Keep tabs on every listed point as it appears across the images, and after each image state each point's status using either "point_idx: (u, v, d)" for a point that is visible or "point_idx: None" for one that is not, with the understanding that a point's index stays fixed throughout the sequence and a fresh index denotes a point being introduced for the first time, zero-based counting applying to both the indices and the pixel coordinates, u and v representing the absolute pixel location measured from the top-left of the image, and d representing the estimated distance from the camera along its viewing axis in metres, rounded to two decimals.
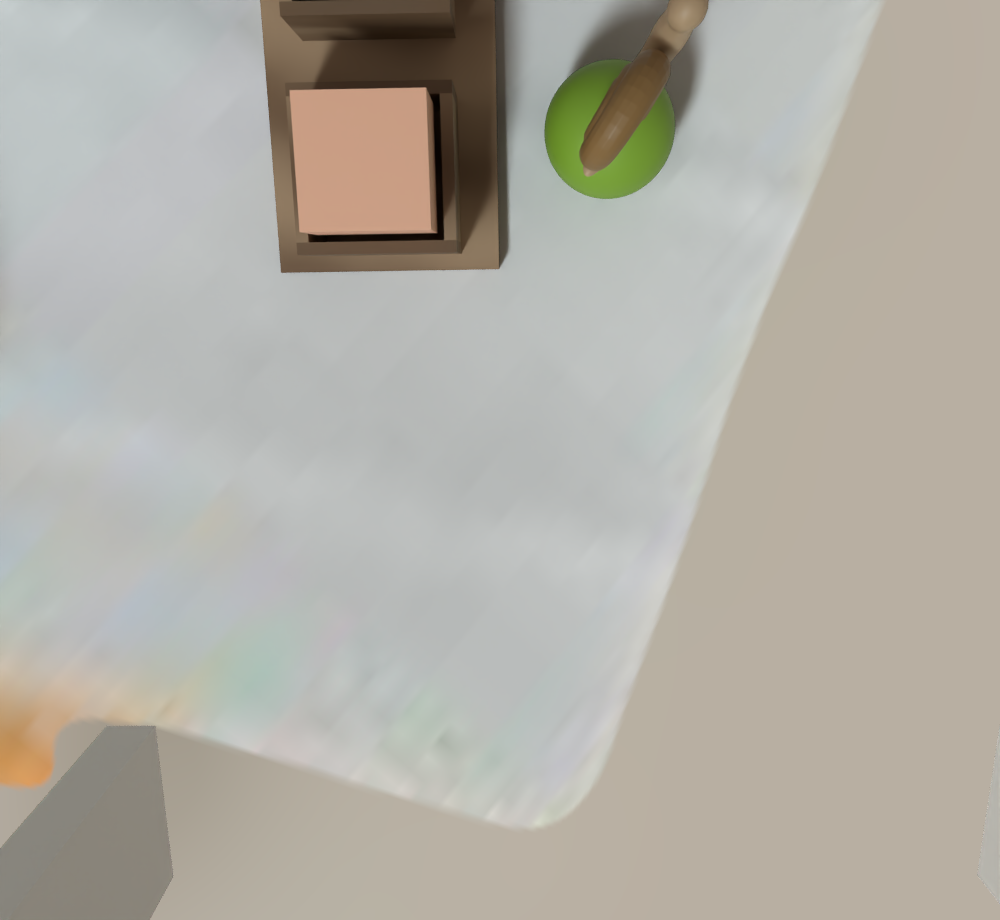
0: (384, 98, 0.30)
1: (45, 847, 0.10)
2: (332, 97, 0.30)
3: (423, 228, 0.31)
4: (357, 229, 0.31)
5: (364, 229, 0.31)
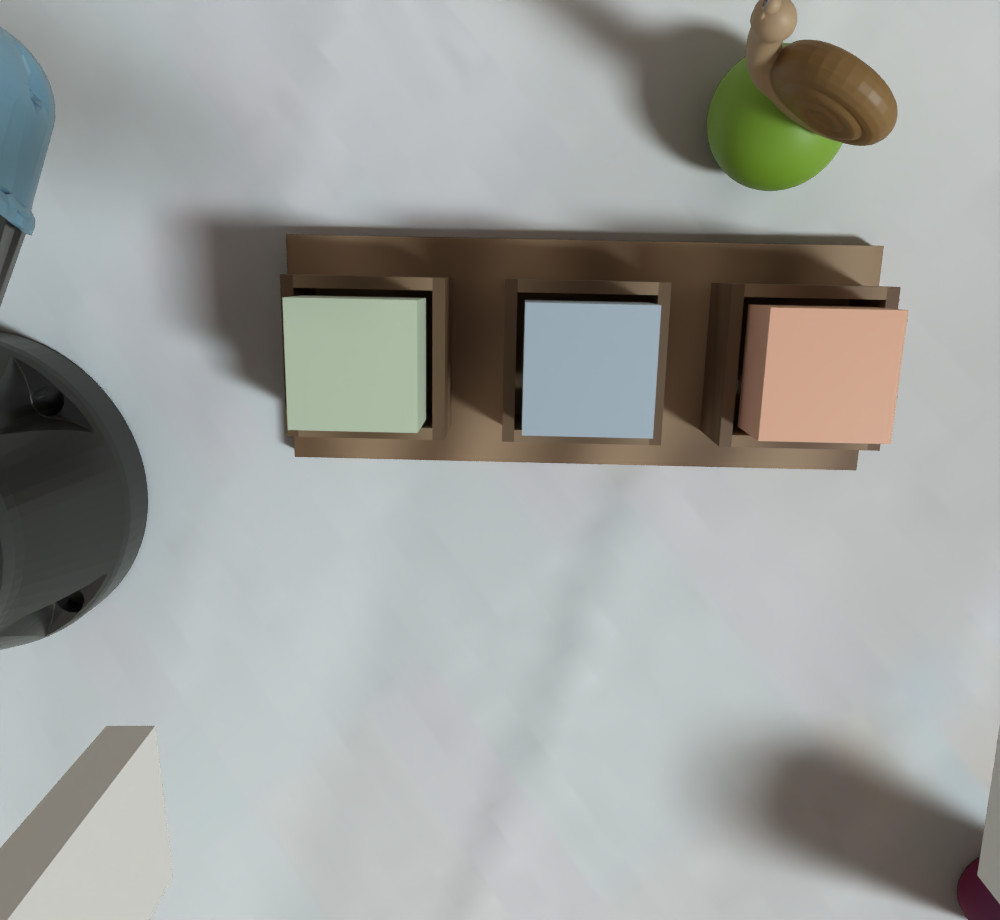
0: (776, 349, 0.30)
1: (45, 847, 0.10)
2: (769, 400, 0.30)
3: (905, 318, 0.30)
4: (896, 386, 0.30)
5: (897, 379, 0.30)
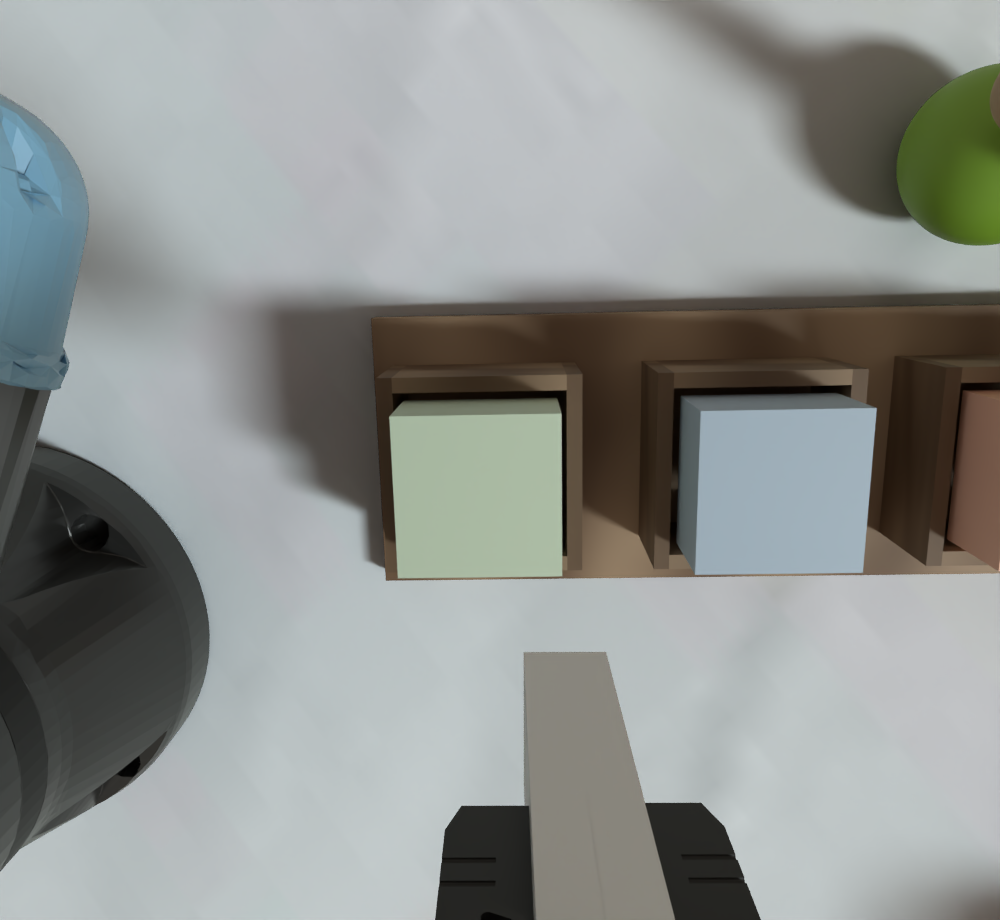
0: None
1: (563, 735, 0.12)
2: None
3: None
4: None
5: None
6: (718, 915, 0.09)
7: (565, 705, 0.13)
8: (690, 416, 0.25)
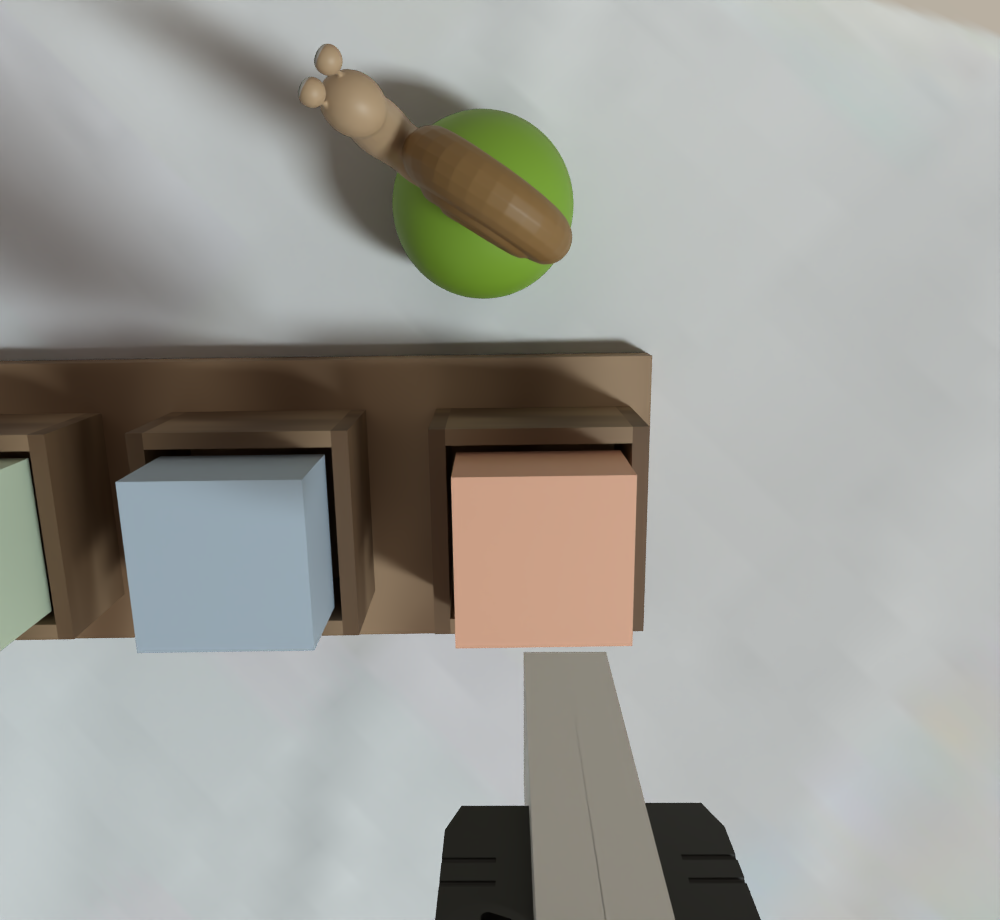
0: (465, 531, 0.22)
1: (563, 735, 0.12)
2: (464, 596, 0.23)
3: (634, 485, 0.22)
4: (632, 572, 0.22)
5: (632, 563, 0.22)
6: (717, 915, 0.09)
7: (565, 705, 0.13)
8: None
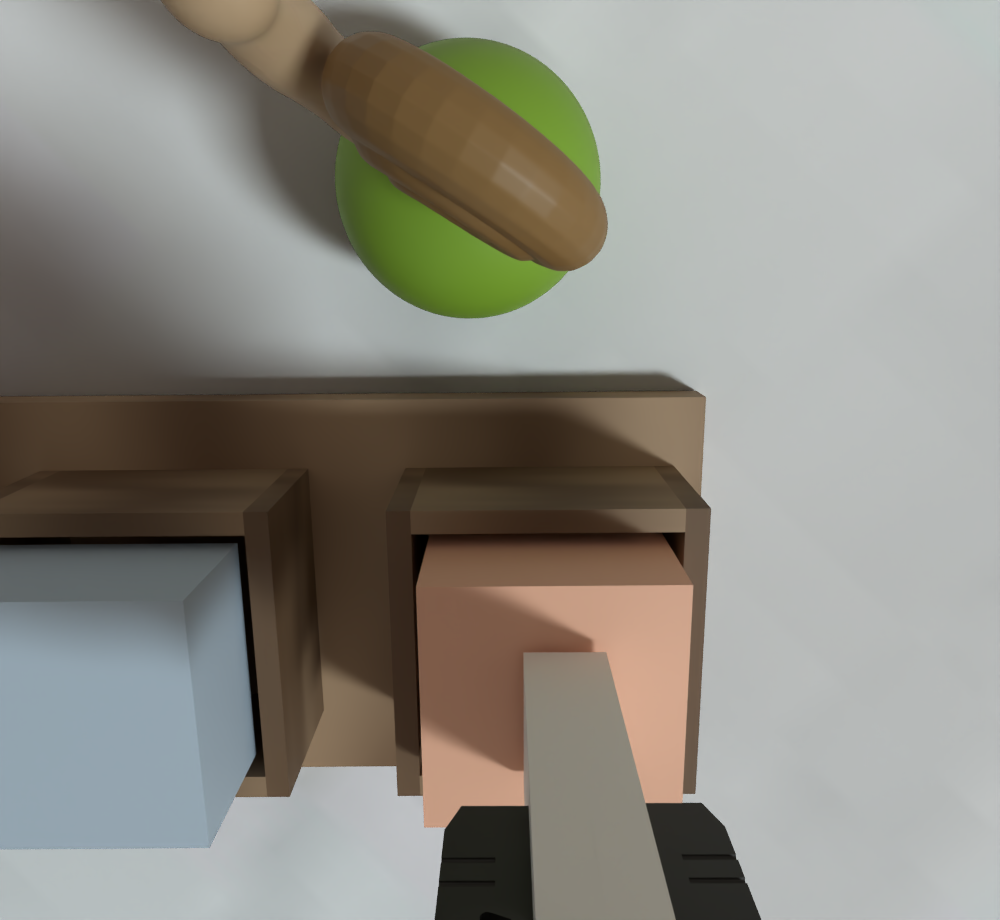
0: (437, 664, 0.15)
1: (563, 735, 0.12)
2: (436, 756, 0.15)
3: (689, 599, 0.15)
4: (683, 723, 0.15)
5: (683, 711, 0.15)
6: (718, 916, 0.09)
7: (565, 705, 0.13)
8: None
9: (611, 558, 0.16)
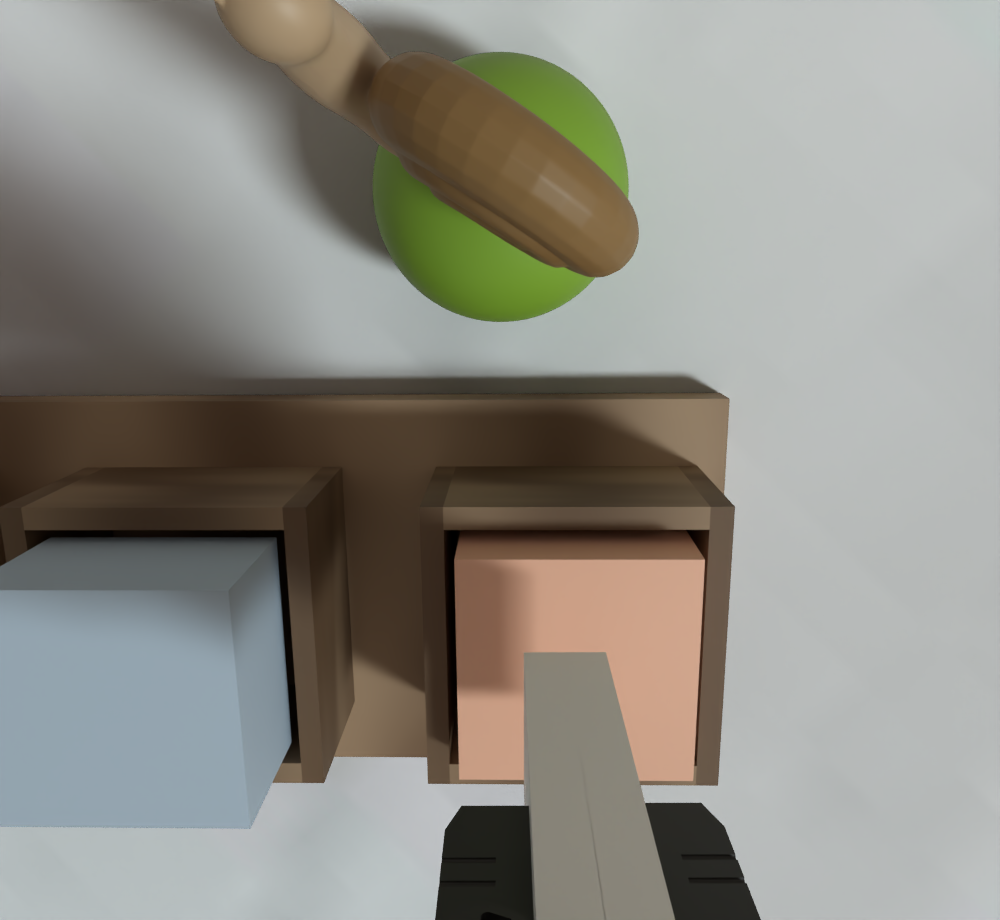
0: (472, 630, 0.17)
1: (563, 735, 0.12)
2: (470, 714, 0.17)
3: (701, 572, 0.16)
4: (695, 686, 0.17)
5: (696, 675, 0.17)
6: (718, 916, 0.09)
7: (565, 705, 0.13)
8: None
9: (630, 537, 0.17)
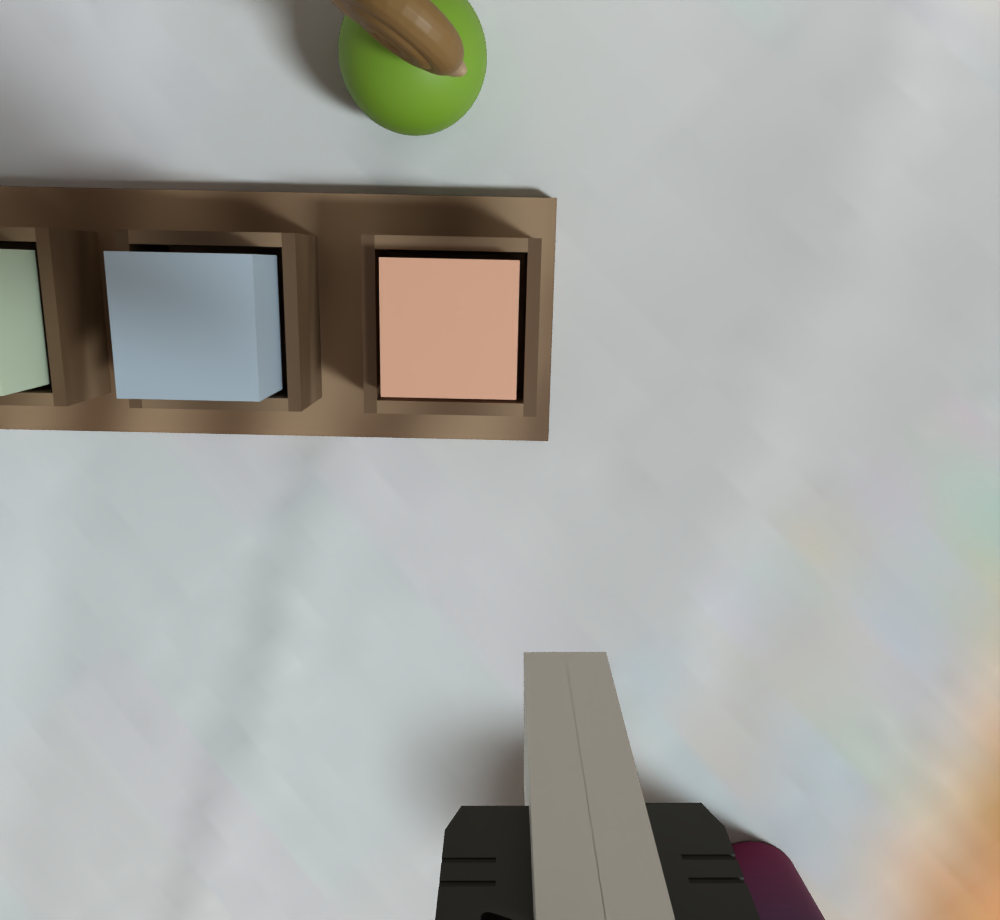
0: (388, 301, 0.29)
1: (563, 735, 0.12)
2: (387, 354, 0.29)
3: (518, 268, 0.29)
4: (516, 339, 0.29)
5: (516, 332, 0.29)
6: (718, 915, 0.09)
7: (565, 705, 0.13)
8: None
9: None
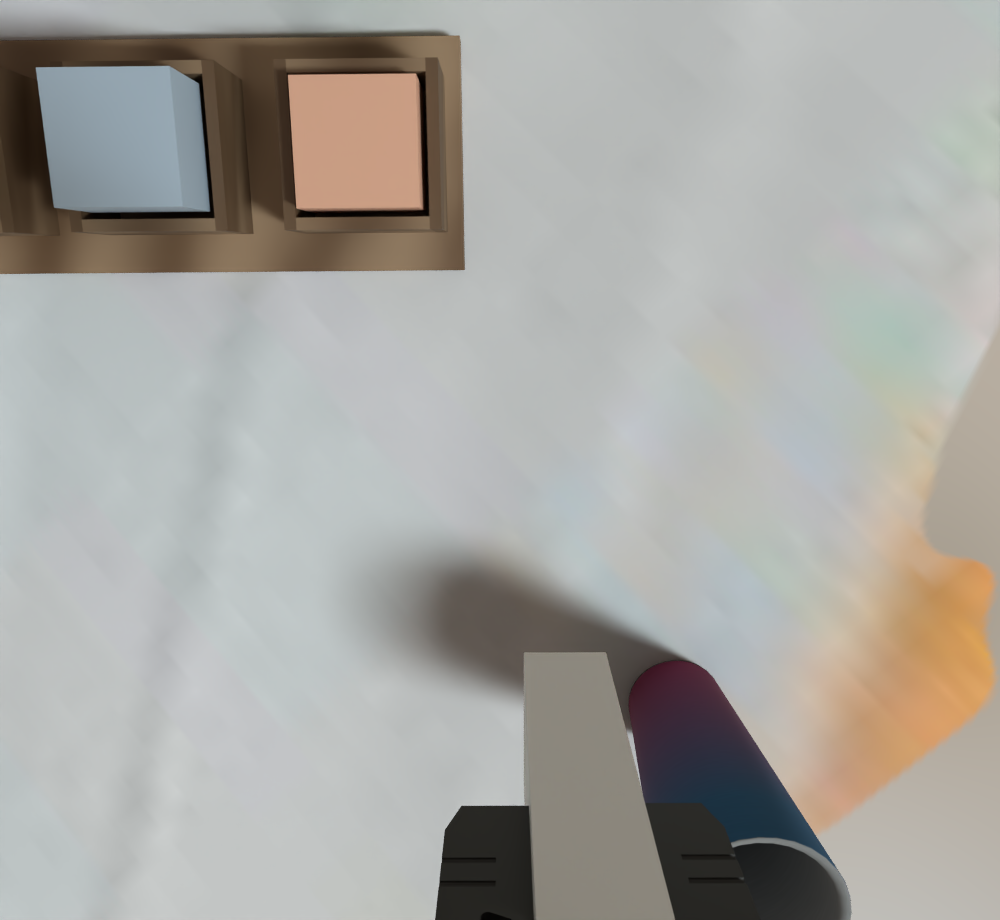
0: (299, 116, 0.32)
1: (563, 735, 0.12)
2: (300, 167, 0.32)
3: (414, 81, 0.32)
4: (416, 149, 0.32)
5: (416, 142, 0.32)
6: (718, 916, 0.09)
7: (565, 705, 0.13)
8: None
9: None
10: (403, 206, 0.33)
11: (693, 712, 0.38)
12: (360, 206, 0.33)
